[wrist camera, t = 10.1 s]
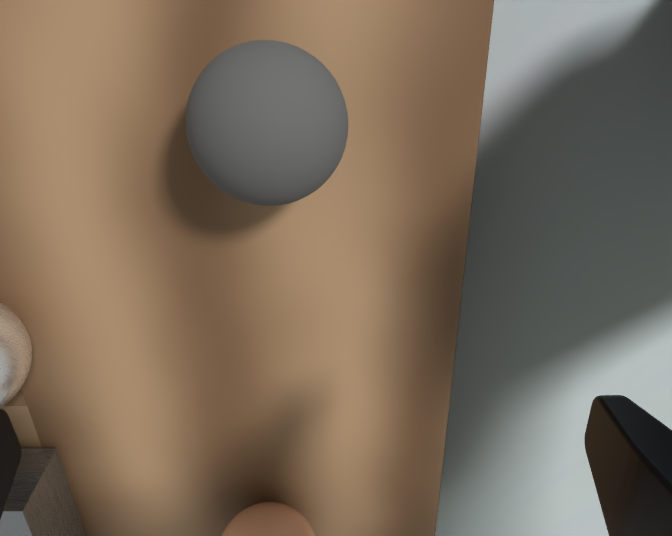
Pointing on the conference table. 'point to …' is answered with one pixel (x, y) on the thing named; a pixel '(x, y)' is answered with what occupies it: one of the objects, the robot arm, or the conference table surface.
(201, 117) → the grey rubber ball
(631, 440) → the robot arm
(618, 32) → the conference table surface
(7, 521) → the brushed grey metal box
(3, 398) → the steel ball
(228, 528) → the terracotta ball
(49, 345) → the walnut deck
